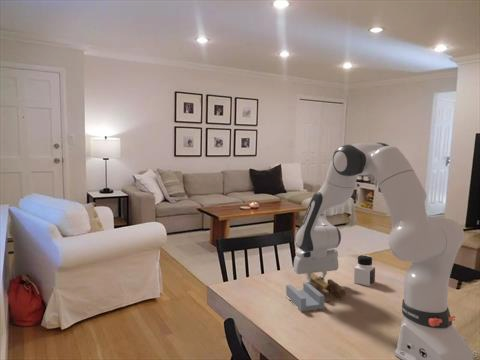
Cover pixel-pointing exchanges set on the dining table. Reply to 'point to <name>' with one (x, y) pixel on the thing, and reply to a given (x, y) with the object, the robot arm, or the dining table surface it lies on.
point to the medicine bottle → (364, 271)
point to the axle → (320, 281)
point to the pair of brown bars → (333, 287)
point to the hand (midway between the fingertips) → (316, 281)
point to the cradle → (306, 297)
